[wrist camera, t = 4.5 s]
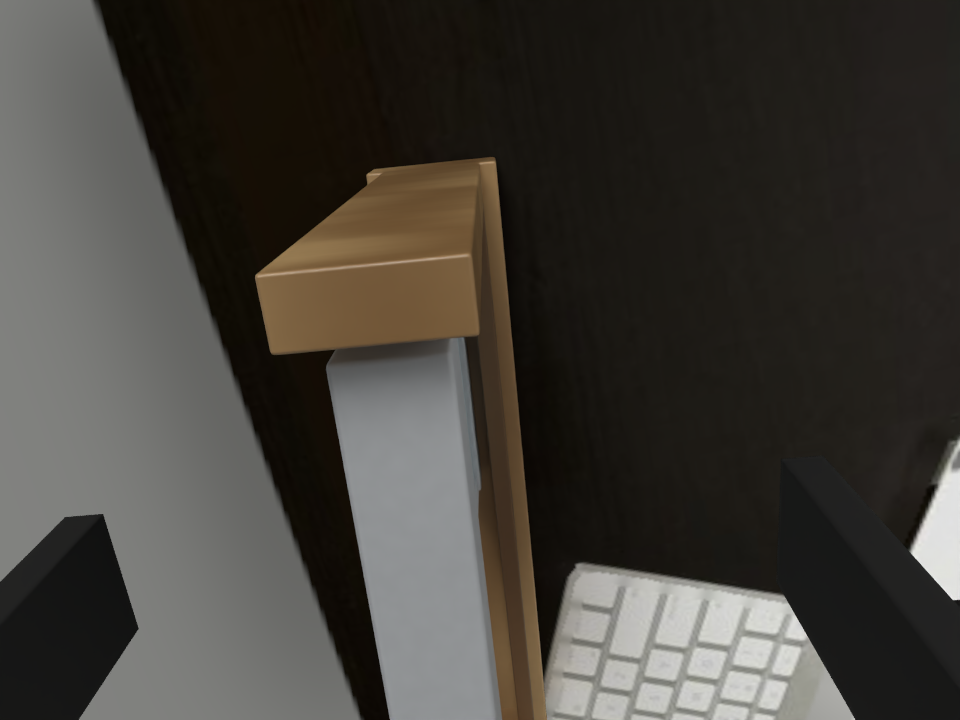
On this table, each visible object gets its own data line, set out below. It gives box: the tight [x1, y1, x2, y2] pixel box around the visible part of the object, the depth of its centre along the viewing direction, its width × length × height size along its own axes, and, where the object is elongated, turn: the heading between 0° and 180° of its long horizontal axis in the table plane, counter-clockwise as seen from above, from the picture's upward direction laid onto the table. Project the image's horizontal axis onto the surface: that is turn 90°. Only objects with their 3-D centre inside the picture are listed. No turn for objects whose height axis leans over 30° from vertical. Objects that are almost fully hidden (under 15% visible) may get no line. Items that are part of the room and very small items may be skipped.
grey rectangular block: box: [326, 337, 502, 720], centre depth 19 cm, size 2×9×12 cm, turn 6°
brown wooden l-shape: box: [255, 157, 547, 720], centre depth 21 cm, size 4×22×15 cm, turn 6°
